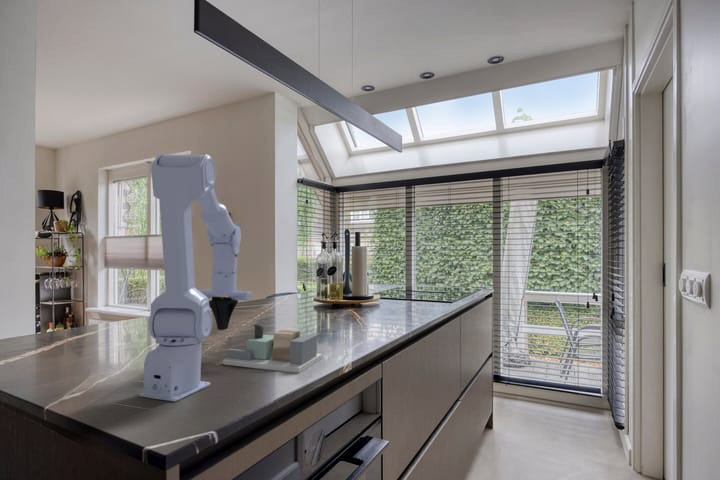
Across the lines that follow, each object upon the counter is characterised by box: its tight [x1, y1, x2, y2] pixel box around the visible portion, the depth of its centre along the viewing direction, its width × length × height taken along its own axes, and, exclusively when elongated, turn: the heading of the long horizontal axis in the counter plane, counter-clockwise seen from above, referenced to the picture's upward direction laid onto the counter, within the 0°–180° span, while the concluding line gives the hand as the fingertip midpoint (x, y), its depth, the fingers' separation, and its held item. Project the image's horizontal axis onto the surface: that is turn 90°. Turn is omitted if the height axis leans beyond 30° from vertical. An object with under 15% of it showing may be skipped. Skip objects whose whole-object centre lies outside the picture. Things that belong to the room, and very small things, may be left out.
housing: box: [272, 328, 301, 361], centre depth 94 cm, size 4×6×6 cm
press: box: [222, 334, 323, 374], centre depth 94 cm, size 13×19×6 cm
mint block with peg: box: [246, 323, 274, 360], centre depth 95 cm, size 7×5×7 cm
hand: (222, 329), depth 97 cm, fingers closed
